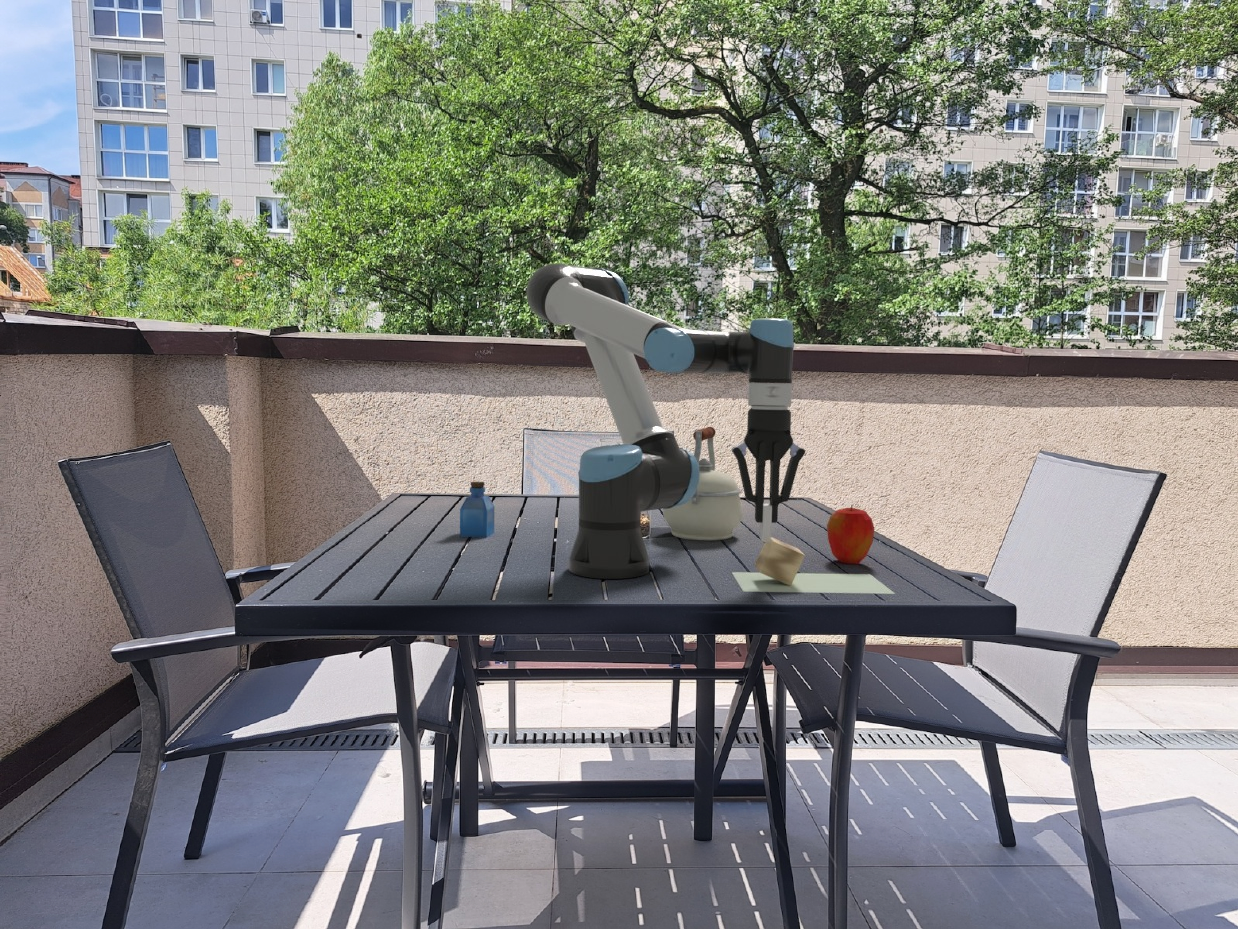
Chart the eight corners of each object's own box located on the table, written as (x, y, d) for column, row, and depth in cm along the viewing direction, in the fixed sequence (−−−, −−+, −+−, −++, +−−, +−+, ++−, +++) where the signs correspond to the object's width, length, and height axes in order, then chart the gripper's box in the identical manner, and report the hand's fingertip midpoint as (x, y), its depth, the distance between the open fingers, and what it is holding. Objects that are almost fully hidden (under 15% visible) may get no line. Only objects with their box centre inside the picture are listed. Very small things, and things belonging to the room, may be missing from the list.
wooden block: (759, 572, 159) (774, 541, 159) (754, 565, 165) (768, 535, 165) (790, 586, 160) (805, 555, 159) (784, 578, 165) (798, 548, 165)
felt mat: (743, 593, 155) (743, 591, 155) (731, 574, 170) (731, 572, 170) (895, 596, 155) (895, 593, 155) (870, 576, 170) (870, 574, 170)
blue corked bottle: (468, 531, 210) (468, 480, 209) (494, 532, 209) (494, 481, 208) (460, 536, 204) (460, 483, 203) (486, 537, 203) (486, 484, 202)
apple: (822, 558, 187) (824, 500, 185) (867, 559, 186) (869, 501, 185) (829, 567, 177) (832, 506, 176) (876, 569, 177) (879, 508, 175)
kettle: (733, 546, 198) (737, 432, 195) (652, 540, 203) (654, 429, 200) (750, 528, 222) (753, 426, 219) (676, 523, 227) (679, 423, 224)
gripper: (735, 408, 156) (731, 544, 158) (811, 409, 156) (806, 545, 158) (729, 406, 163) (726, 536, 165) (802, 407, 163) (797, 537, 165)
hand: (765, 540), depth 162 cm, fingers closed
